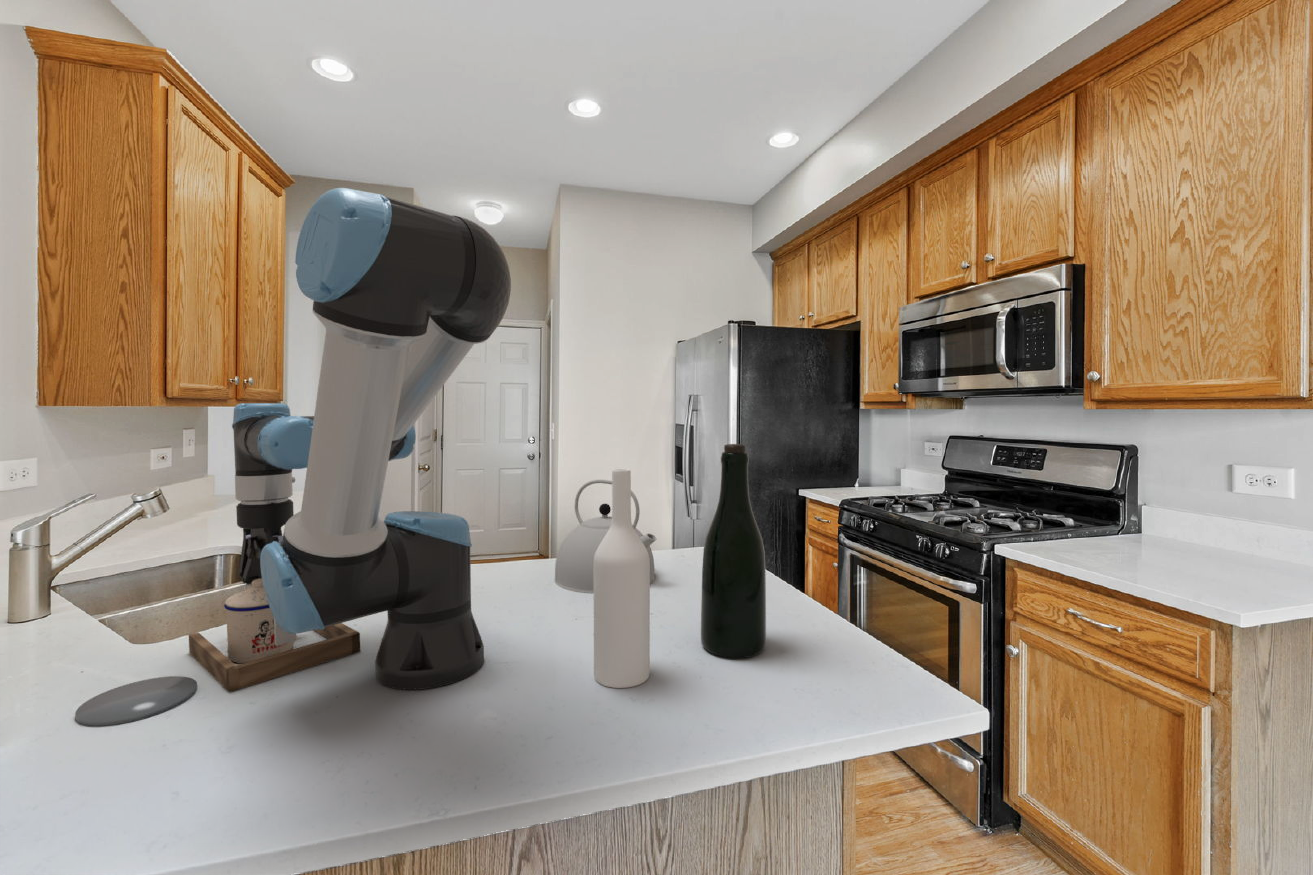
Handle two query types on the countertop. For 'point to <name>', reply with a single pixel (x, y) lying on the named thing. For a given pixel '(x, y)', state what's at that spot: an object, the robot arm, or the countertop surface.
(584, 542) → the kettle
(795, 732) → the countertop surface
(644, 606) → the bottle
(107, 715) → the coaster
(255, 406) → the robot arm
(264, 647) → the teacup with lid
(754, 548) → the dark green wine bottle
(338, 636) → the wooden tray
